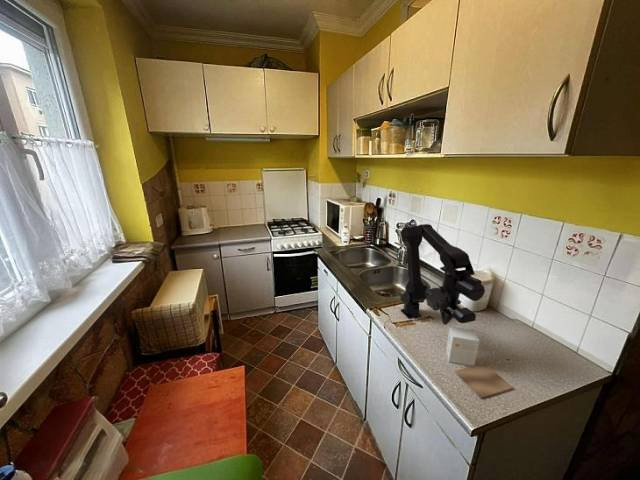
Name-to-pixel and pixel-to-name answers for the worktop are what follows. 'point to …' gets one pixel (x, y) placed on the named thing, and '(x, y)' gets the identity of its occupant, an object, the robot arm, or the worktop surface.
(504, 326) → the worktop surface
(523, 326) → the worktop surface
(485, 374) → the brown coaster
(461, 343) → the small box
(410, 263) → the robot arm
